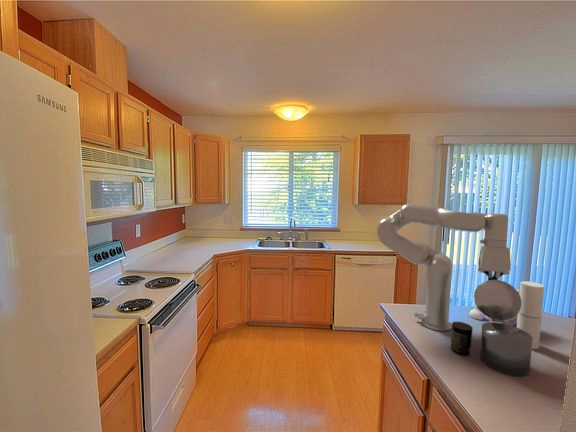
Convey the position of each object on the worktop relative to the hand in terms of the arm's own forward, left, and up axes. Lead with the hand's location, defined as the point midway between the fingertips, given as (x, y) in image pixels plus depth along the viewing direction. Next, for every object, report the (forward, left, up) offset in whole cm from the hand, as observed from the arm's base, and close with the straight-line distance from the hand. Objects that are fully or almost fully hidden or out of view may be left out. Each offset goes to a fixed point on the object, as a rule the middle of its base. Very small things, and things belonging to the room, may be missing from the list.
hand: (492, 286), depth 114 cm
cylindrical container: (+13, -1, -22) cm, 26 cm away
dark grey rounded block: (-1, -20, -22) cm, 30 cm away
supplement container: (-14, -17, -22) cm, 31 cm away
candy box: (+11, +16, -22) cm, 30 cm away
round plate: (-1, -11, -2) cm, 11 cm away
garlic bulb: (+1, +20, -22) cm, 30 cm away
